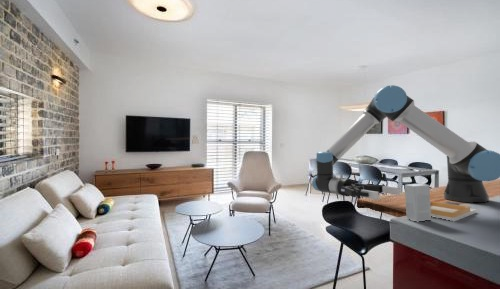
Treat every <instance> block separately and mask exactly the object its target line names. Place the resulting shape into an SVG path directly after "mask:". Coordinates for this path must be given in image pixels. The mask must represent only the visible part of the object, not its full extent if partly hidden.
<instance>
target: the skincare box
mask: <svg viewBox="0 0 500 289" xmlns="http://www.w3.org/2000/svg"><path fill="white" fill-rule="evenodd" d="M430 192H431V191H430V185H429V184H425V183H411V184H410V183H409V184H408V183H407V184H405V185H404V194H405V210H406V211H405V213H406V215H405V217H406V219H407V218H408V219H412V220H415V221H424V220H431V221H432V217H431V206H430V201H431V193H430Z"/></svg>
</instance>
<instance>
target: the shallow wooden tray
mask: <svg viewBox="0 0 500 289" xmlns="http://www.w3.org/2000/svg"><path fill="white" fill-rule="evenodd" d="M430 206H431V216H435V217H438V218H442V219H441V220H443V219H446V220H445V221H448V220H450V221H449V222H454V223H455V222H457V221H459V220H461V219H464V218H466V217H469V216H472V215H475V214H476V213H477V209H476V208H471V207H470V206H466V205H460V202H456V201H454V202H453V201H446V202H439V201H431V200H430ZM438 218H437V219H438Z"/></svg>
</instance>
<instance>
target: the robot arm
mask: <svg viewBox="0 0 500 289" xmlns="http://www.w3.org/2000/svg"><path fill="white" fill-rule="evenodd" d="M386 118H387V119H388V120H390V121H391V122H394V123H395V122H398V123H401V124H402V125H404V126H405V127H406V128H408V129H409V130H411V131H412V132H413V133H415V134H416V135H417V136H419V137H421V139H422V140H425V141H426V142H427V143H429V144H430V145H431V146H433V147H434V148H435V149H437V150H438V151H440V152H442V154H444V155H445V156H446V161H447V162H446V164H447V184H446V186H445V188H444V192H443V198H444V199H446V200H449V201H452V202H453V201H454V202H458V203H473V202H485V203H488V202H487V201H489V202H490V196H489V194H488V191H487V190H486V188H485V187H486V186H484V184H483V182H492V181H495V180H498V179H500V153H499V152H498V151H494V150H490V149H487V148H485V147H483V146H482V145H480V144H479V143H478V142H476V141H468V140H466V139H464V138H463V137H462V136H460V135H458V134H457V133H456V132H454V131H452V130H451V129H449V128H448V127H446V126H445V125H444V124H442V123H441V122H439V120H436V119H435V118H433V117H432V116H431V115H429V114H428V113H426V112H424V111H423V110H422V109H420V108H418V107H417V106H416V105H415V100H414V99H413V98H411V97H410V96H408V95H407V93H406V91H405V89H403V88H402V87H400V86H398V85H395V84H394V85H393V84H392V85H386V86H384V87H382V88H380V89H379V90H378V91H376V93H375V94H374V96H373V98H372V100H371V101H370V103H369V104H368V105H367V106H366V108H365V109H363V111H362V114H361V115H360V116H359V118H358V119H356V120H355V122H354V123H353V124H352V125H350V127H349V128H347V130H346V131H344V133H342V135H341V136H340V137H339V138H338V139H337V140H336V141H335V142H334V143H333V144H332V145H331V146H330V147H329V148H328V149H327V150H326V151H317V152H316V158H315V160H316V176H314V177H313V179H312V182H311V183H312V187H313V189H314V190H315V191H318V192H322V193H329V194H334V195H335V196H339V195H340V196H344V197H352V198H356V199H357V200H359V199H360V200H361V198H366V199H371V200H375V201H377V200H378V201H379V199H380V198H379V197H380V196H379V195H380V194H379V193H383V194H388V195H389V194H390V195H395V196H397V195H398V196H400V195H401V190H400V189H401V188H400V187H396V186H395V187H394V186H387V185H385V184H384V183H382V184H369V183H368V184H367V183H356V182H355V183H354V182H353V180H352V179H351V178H343V177H337V176H336V177H335V176H334V165H335V164H336V163H337V162H339V160H340V159H341V158H343V156H344V155H345V154H346V153H347V152H348V151H349V150H351V148H352V147H354V146H355V145H356V143H357V142H358V141H360V140H361V139H362V138H363V137H364V135H366V134H367V133H368V132H369V131H370V130H371V129H372V128H373V127H375V125H376V124H377V125H379V124H380V123H381V122H382V121H383V120H384V119H386Z"/></svg>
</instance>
